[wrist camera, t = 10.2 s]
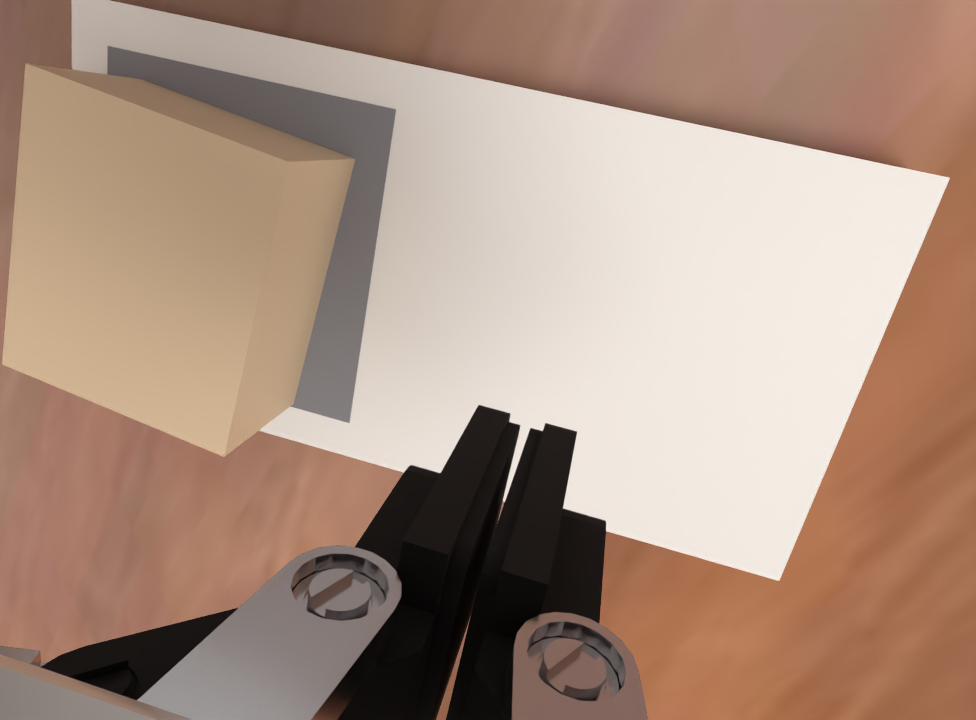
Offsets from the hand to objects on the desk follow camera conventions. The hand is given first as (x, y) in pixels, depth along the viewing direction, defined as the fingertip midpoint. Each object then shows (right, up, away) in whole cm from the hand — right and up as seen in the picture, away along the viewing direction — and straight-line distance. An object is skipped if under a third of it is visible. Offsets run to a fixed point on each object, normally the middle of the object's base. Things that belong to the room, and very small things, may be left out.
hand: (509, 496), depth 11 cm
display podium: (-2, +6, +16) cm, 17 cm away
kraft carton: (-11, +6, +15) cm, 19 cm away
